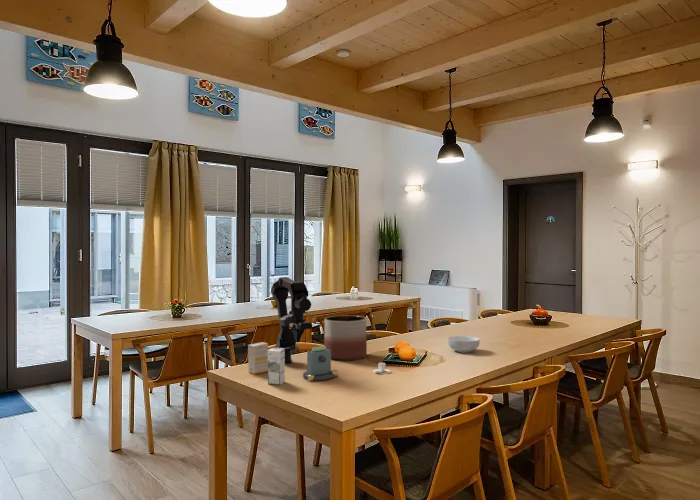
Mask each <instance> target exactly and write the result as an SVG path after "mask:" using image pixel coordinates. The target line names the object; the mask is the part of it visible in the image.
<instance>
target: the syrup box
mask: <svg viewBox="0 0 700 500" xmlns="http://www.w3.org/2000/svg"><path fill="white" fill-rule="evenodd" d="M285 364H286V363H285V349H284V348H281V347H280V348H276V347H271V348H270V349H269V348H268V371H267V384H268V385H275V386H276V385H277V386H280V385H282V384H284V383H285V382H286V377H285V374H286V373H285V369H286V368H285V367H286V365H285Z"/></svg>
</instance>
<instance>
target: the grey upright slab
mask: <svg viewBox="0 0 700 500" xmlns="http://www.w3.org/2000/svg"><path fill="white" fill-rule="evenodd" d="M306 353H307V354H306V357H307V358H306V361H307V362H306V364H307V365H306V366H307V367H306V371H307V374H308V375H309V374H313V375H320V374H326V373H331V371H332V367H331V366H332V359H331V350H329V349H326V346H324V345H320V346H314V347H312V348H311V350H310V351H309V350H308V351H306Z"/></svg>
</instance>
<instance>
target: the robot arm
mask: <svg viewBox="0 0 700 500" xmlns="http://www.w3.org/2000/svg"><path fill="white" fill-rule="evenodd" d="M270 288H271V289H270V293H271V295H272V299H273V301H274V302H275V303H276V308H277V314H278V315H277V316H278V322H279V329H280V332H279V334H278V335H277V341H276V343H275V348H284V349H285V364H293V359H292V351H295V349H296V345H297V343H299V342H300V341H301V338H302V336H303V335H304V332H305V330H309V329H310V330H311V329H313V323H312V322H309V321H306V319H304V318H305V317H304V314H305V313H306V312H307V311H309V310H311V308H312V302H311V300H310V299H308V297H309V290H308V288H307V285H306V284H305V282H304V281H295V280H293V279H292V278H290V277H287V276H285V277H284V276H283V277H278V278H277V281H275V282H273V284H272V286H271V287H270ZM289 294H290V301H291V302H290V305H291V306H290V308H291V309H290V310H289V312H288V305H287V299H288V297H289Z"/></svg>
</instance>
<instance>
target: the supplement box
mask: <svg viewBox="0 0 700 500" xmlns="http://www.w3.org/2000/svg"><path fill="white" fill-rule="evenodd" d="M247 347H248V348H247V352H248V353H247V354H248V355H247V357H248V373H249V374H251V373H252V375H258V374H261V373H268V350H269V343H267V342H264V341H263V342H262V341H261V342H257V343H251V344H247ZM257 373H258V374H257Z"/></svg>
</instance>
